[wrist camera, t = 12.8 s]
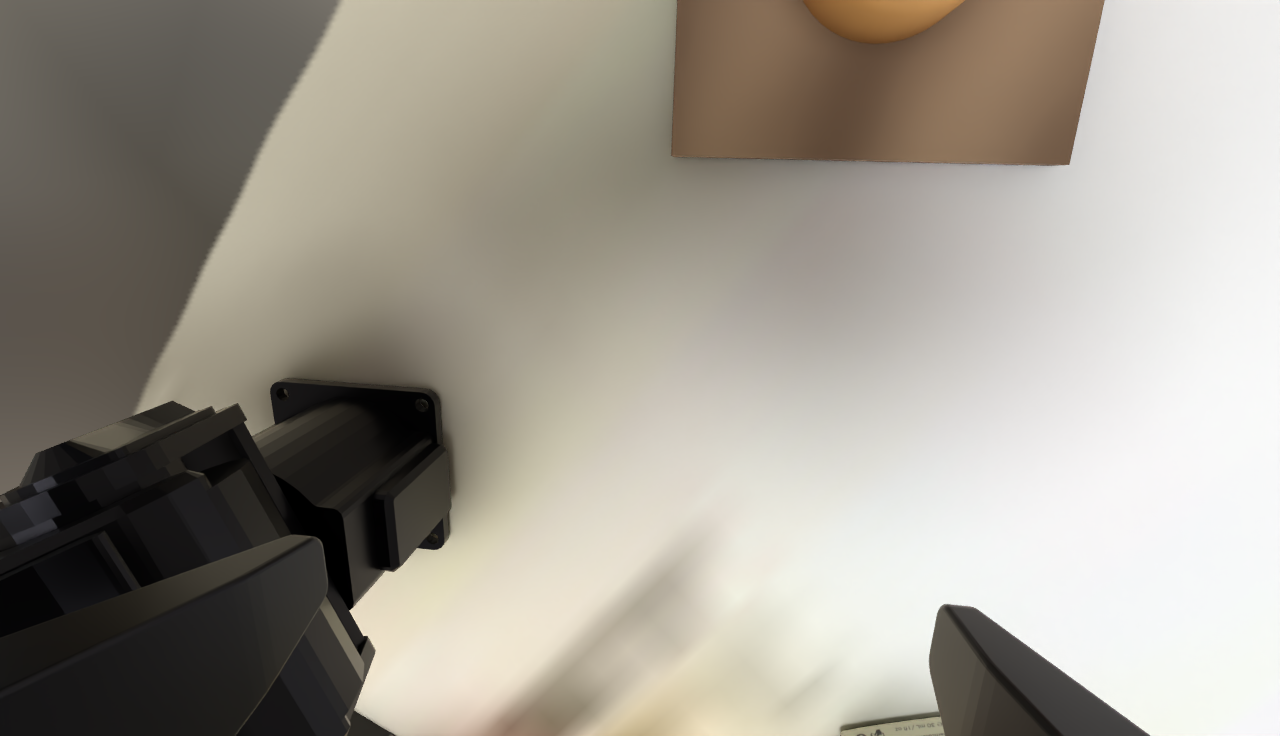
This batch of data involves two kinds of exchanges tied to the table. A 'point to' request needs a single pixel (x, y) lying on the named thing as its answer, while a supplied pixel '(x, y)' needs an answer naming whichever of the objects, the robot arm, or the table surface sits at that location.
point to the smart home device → (365, 727)
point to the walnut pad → (882, 84)
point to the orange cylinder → (879, 17)
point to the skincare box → (901, 728)
